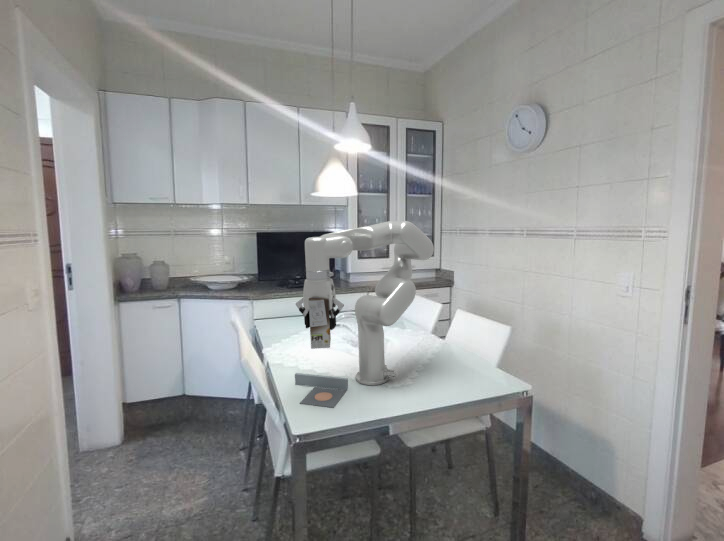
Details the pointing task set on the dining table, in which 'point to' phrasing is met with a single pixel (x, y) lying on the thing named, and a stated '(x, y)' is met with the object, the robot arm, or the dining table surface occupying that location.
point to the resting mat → (323, 397)
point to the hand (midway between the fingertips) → (320, 327)
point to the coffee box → (319, 323)
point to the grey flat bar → (321, 381)
